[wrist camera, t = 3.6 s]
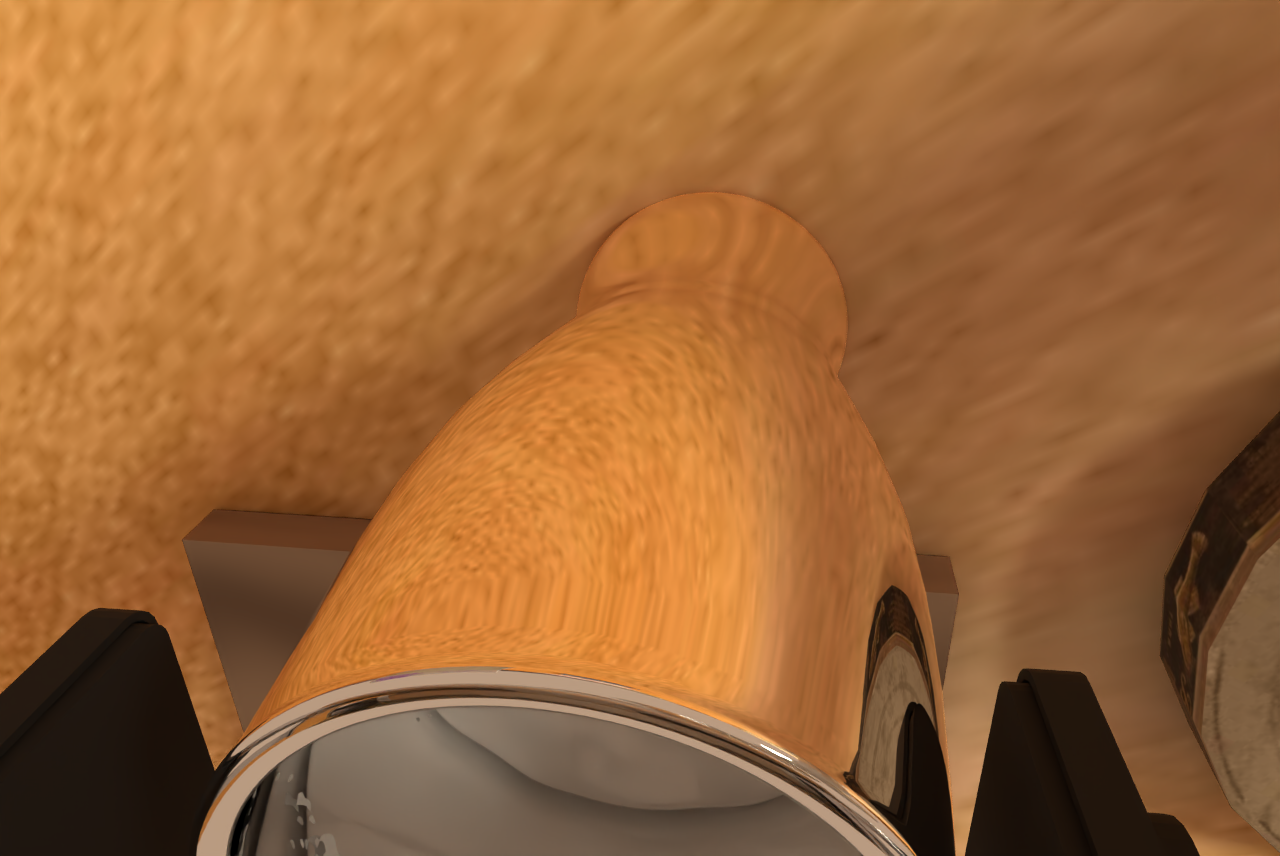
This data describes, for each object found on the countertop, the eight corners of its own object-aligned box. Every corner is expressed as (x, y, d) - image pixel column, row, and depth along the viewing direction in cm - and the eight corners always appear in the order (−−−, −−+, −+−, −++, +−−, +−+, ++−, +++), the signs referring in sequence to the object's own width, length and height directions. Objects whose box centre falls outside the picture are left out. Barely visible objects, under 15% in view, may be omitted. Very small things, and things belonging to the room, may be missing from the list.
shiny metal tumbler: (572, 148, 19) (85, 570, 6) (900, 192, 19) (1150, 768, 5) (553, 431, 23) (215, 1099, 9) (832, 478, 22) (886, 1260, 9)
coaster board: (213, 509, 25) (173, 548, 24) (949, 557, 22) (961, 605, 21) (342, 946, 35) (320, 997, 33) (875, 1021, 32) (879, 1080, 30)
